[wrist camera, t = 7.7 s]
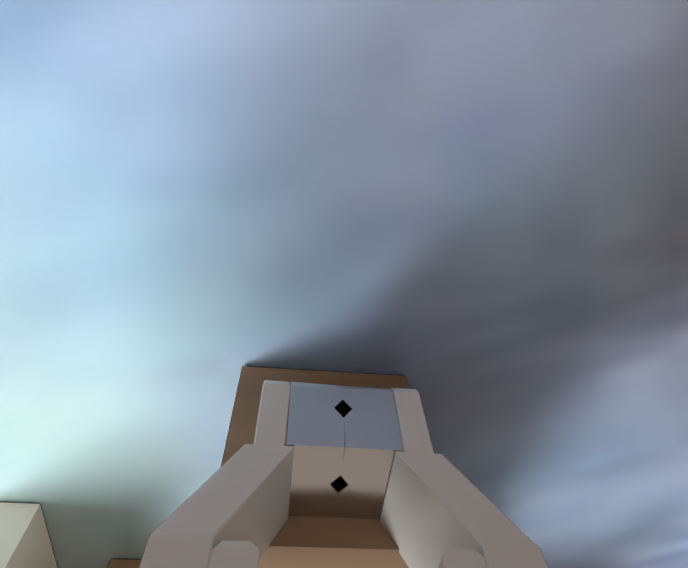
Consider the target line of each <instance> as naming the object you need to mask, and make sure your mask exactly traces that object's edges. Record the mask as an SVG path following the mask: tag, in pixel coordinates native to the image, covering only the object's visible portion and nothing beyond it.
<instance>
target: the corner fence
mask: <svg viewBox="0 0 688 568" xmlns="http://www.w3.org/2000/svg"><path fill="white" fill-rule="evenodd" d="M0 568H57V564H56V560H55V557H54V553H53V549H52V546H51V542H50V538H49V535H48V531H47V527H46V524H45V520H44V516H43V513H42V509H41V505H40V504H28V503H5V502H0Z"/></svg>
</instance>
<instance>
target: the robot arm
mask: <svg viewBox="0 0 688 568" xmlns="http://www.w3.org/2000/svg"><path fill="white" fill-rule="evenodd" d="M289 396H290V400H289ZM288 516H298V517H339V518H358V519H377V520H380V523H381V524H382V526H383V527H384V529H385V530H386V531H387V533H388V534H389V536H390V537H391V538H392V540H393V541H394V543H395V544H396V546H397V547H398V548H399V553H400V555H401V556H402V558H403V559H404V561H405V562H406V564H407V565H408V567H409V568H548V567H547V564H546V562H545V559H544V557H543V554H542V552H541V549H540V548H538V547H537V546H536V545H535V544H534V543H533V542H532V541H531V540H530V539H529V538H528V537H527V536H526V535H525V534H524V533H523V532H522V531H521V530H520V529H519V528H518V527H517V526H516V525H515V524H514V523H513V522H512V521H511V520H510V519H509V518H507V517H506V516H505V515H504V514H503V513H502V512H501V511H500V510H499V509H498V508H497V507H496V506H495V505H494V504H493V503H492V502H491V501H490V500H489V499H488V498H487V497H486V496H485V495H484V494H483V493H482V492H481V491H480V490H479V489H478V488H476V487H475V486H474V485H473V484H472V483H471V482H470V481H469V480H468V479H467V478H466V477H465V476H464V475H463V474H462V473H461V472H460V471H459V470H458V469H457V468H456V467H455V466H454V465H453V464H452V463H451V462H450V461H449V460H448V459H447V458H445V457H444V456H443V455H442V454H436V453H434V451H433V447H432V443H431V439H430V435H429V431H428V427H427V423H426V419H425V415H424V411H423V407H422V403H421V398H420V394H419V392H418V391H417V390H416V389H401V388H391V389H389V388H371V387H353V386H337V385H325V384H313V383H301V382H291V388H290V382H284V381H272V380H265V381H264V383H263V386H262V392H261V399H260V405H259V412H258V418H257V424H256V431H255V437H254V444H245V445H244V446H243V447H242V448H241V449H240V450H238V451H237V452H236V453H235V454H234V455H233V456H232V457H231V458H230V459H229V460H228V461H227V462H226V463H225V464H224V465H223V466H222V467H221V468H220V469H219V470H217V471H216V472H215V473H214V474H213V475H212V476H211V477H210V478H209V479H208V480H207V481H206V482H205V483H204V484H203V485H202V486H201V487H200V488H199V489H198V490H197V491H195V492H194V493H193V494H192V495H191V496H190V497H189V498H188V499H187V500H186V501H185V502H184V503H183V504H182V505H181V506H180V507H179V508H178V509H177V510H176V511H174V512H173V513H172V514H171V515H170V516H169V517H168V518H167V519H166V520H165V521H164V522H163V523H162V524H161V525H160V526H159V527H158V528H157V529H156V530H155V531H154V532H152V533H151V534H150V536H149V539H148V542H147V545H146V548H145V551H144V554H143V557H142V560H141V564H140V567H139V568H258V563H259V561H260V560H261V558H262V557H263V555H264V554H265V552H266V551H267V550H268V548H269V545H270V543H271V542H272V541H273V539H274V538H275V536H276V535H277V534H278V532H279V531H280V529H281V528H282V527H283V525H284V524H285V523H286V521H287V520H288Z"/></svg>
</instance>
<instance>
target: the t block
mask: <svg viewBox="0 0 688 568" xmlns="http://www.w3.org/2000/svg"><path fill="white" fill-rule="evenodd" d="M265 380H272V381H284V382H290V388H291V382H301V383H313V384H325V385H337V386H353V387H371V388H389V389H391V388H401V389H409V386H408V382H407V377H406V376H397V375H380V374H363V373H346V372H329V371H312V370H295V369H278V368H261V367H245V366H242V369H241V374H240V379H239V384H238V388H237V393H236V398H235V403H234V407H233V412H232V417H231V421H230V426H229V431H228V436H227V440H226V445H225V450H224V455H223V459H222V464H221V467H222V466H223V465H224V464H225V463H226V462H227V461H228V460H229V459H230V458H231V457H232V456H233V455H234V454H235V453H236V452H237V451H238V450H240V449H241V448H242V447H243V446H244V445H245V444H254V437H255V431H256V424H257V418H258V412H259V405H260V399H261V392H262V386H263V383H264V381H265ZM289 400H290V396H289ZM140 564H141V560H127V559H110V562H109V564H108V567H107V568H139V567H140ZM258 568H409V567H408V565H407V564H406V562H405V561H404V559H403V558H402V556H401V555H400V553H399V548H398V547H397V546H396V544H395V543H394V541H393V540H392V538H391V537H390V536H389V534H388V533H387V531H386V530H385V529H384V527H383V526H382V524H381V523H380V520H377V519H358V518H339V517H298V516H288V520H287V521H286V523H285V524H284V525H283V527H282V528H281V529H280V531H279V532H278V534H277V535H276V536H275V538H274V539H273V541H272V542H271V543H270V545H269V548H268V550H267V551H266V552H265V554H264V555H263V557H262V558H261V560H260V561H259V563H258Z"/></svg>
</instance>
